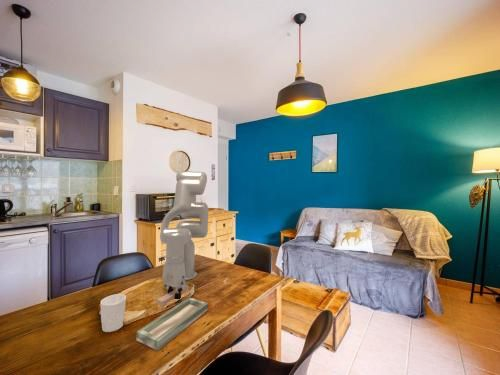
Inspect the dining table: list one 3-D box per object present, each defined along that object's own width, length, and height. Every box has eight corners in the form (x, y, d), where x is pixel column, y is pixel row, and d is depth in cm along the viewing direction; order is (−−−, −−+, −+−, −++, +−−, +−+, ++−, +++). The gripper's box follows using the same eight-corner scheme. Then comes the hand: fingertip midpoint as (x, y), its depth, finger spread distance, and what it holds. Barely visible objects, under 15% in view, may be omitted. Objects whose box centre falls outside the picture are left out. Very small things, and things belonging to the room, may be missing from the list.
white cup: (98, 336, 76) (99, 307, 76) (101, 323, 83) (102, 296, 83) (124, 329, 80) (125, 302, 80) (125, 317, 87) (126, 292, 87)
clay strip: (156, 308, 94) (156, 299, 94) (183, 292, 108) (183, 284, 108) (162, 311, 93) (162, 301, 92) (189, 294, 107) (189, 286, 107)
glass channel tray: (136, 340, 74) (136, 331, 74) (189, 304, 98) (189, 297, 98) (157, 350, 70) (158, 341, 70) (207, 310, 94) (207, 303, 93)
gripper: (154, 258, 101) (154, 298, 101) (183, 265, 93) (182, 308, 93) (167, 254, 107) (166, 291, 107) (194, 260, 100) (194, 300, 100)
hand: (173, 299), depth 100 cm, fingers open, 3 cm apart
